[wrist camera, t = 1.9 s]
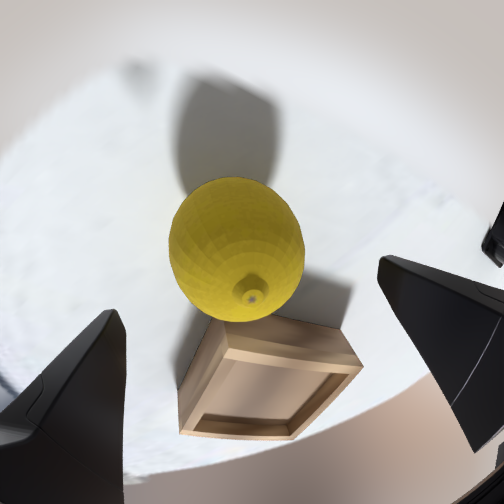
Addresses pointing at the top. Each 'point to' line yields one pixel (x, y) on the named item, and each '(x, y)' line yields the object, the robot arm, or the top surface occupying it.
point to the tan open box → (263, 378)
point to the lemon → (236, 249)
